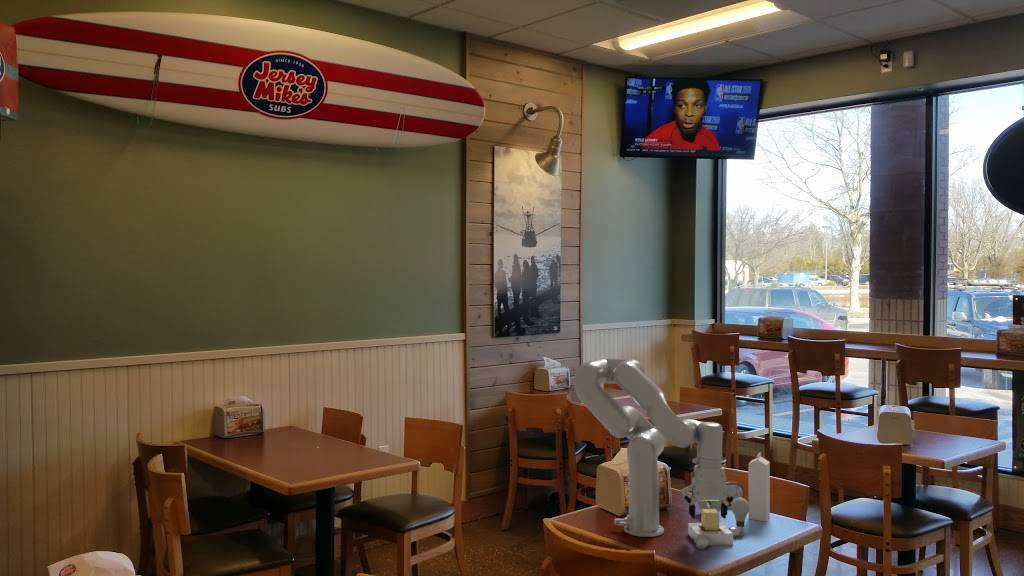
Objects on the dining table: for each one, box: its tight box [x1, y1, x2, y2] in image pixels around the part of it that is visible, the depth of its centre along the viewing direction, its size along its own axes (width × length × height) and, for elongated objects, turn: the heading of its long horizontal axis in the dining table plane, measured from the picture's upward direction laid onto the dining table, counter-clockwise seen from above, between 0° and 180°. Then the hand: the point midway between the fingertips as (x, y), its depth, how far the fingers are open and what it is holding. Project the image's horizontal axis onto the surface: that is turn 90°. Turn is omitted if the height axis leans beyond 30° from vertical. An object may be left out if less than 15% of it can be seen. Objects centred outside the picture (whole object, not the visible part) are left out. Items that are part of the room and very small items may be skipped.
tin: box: [708, 480, 745, 505], centre depth 287 cm, size 15×3×8 cm, turn 98°
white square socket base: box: [687, 522, 734, 546], centre depth 248 cm, size 11×11×4 cm
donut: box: [697, 500, 721, 513], centre depth 274 cm, size 10×4×10 cm, turn 31°
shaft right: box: [727, 526, 745, 538], centre depth 250 cm, size 6×3×3 cm, turn 107°
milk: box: [747, 452, 771, 522], centre depth 270 cm, size 6×6×22 cm
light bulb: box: [730, 497, 750, 529], centre depth 259 cm, size 6×6×10 cm
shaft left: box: [695, 536, 711, 551], centre depth 241 cm, size 6×3×3 cm, turn 152°
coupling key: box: [700, 509, 720, 532], centre depth 248 cm, size 4×4×9 cm
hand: (707, 517), depth 248 cm, fingers open, 9 cm apart
